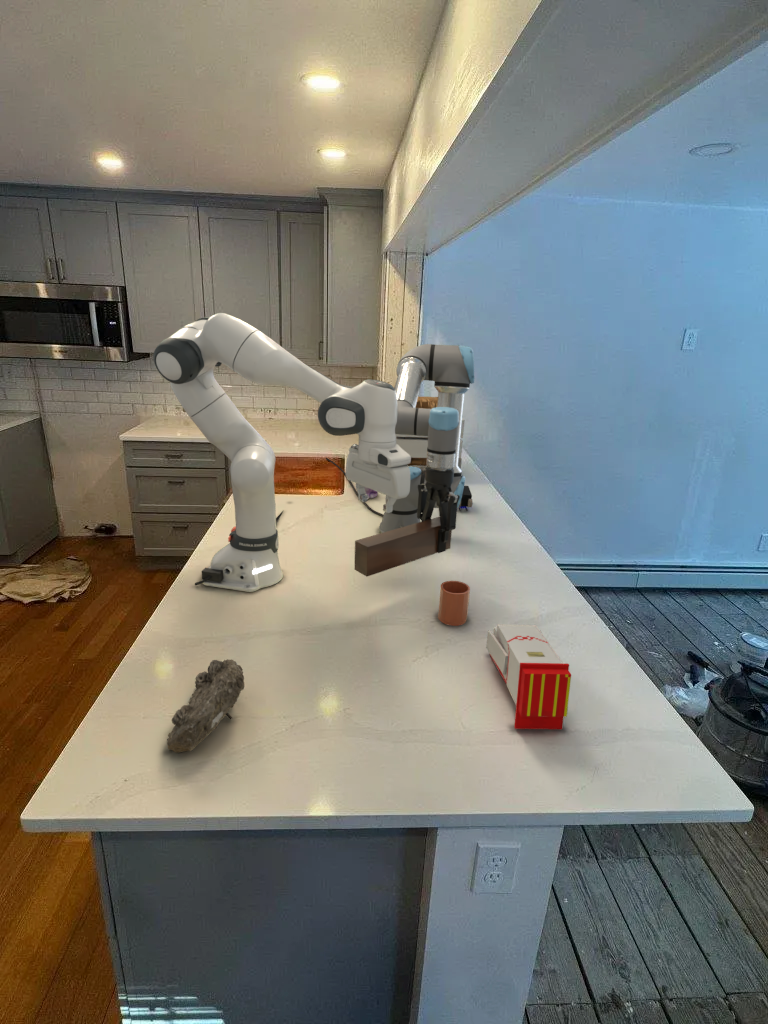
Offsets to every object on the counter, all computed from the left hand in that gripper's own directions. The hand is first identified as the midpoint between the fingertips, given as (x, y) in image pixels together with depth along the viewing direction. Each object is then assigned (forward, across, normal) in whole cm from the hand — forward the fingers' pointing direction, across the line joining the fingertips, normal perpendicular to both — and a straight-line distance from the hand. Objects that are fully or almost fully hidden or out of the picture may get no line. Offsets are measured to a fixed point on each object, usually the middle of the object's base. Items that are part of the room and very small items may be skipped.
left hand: (375, 506), depth 138 cm
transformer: (+30, -89, +103) cm, 140 cm away
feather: (+29, -76, +19) cm, 84 cm away
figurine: (+29, -75, +60) cm, 100 cm away
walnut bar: (+17, 0, +11) cm, 20 cm away
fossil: (+29, +13, -50) cm, 59 cm away
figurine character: (+30, -43, +83) cm, 98 cm away
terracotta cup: (+29, +15, +15) cm, 36 cm away
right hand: (+17, 0, +22) cm, 28 cm away
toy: (+29, +43, +6) cm, 52 cm away
